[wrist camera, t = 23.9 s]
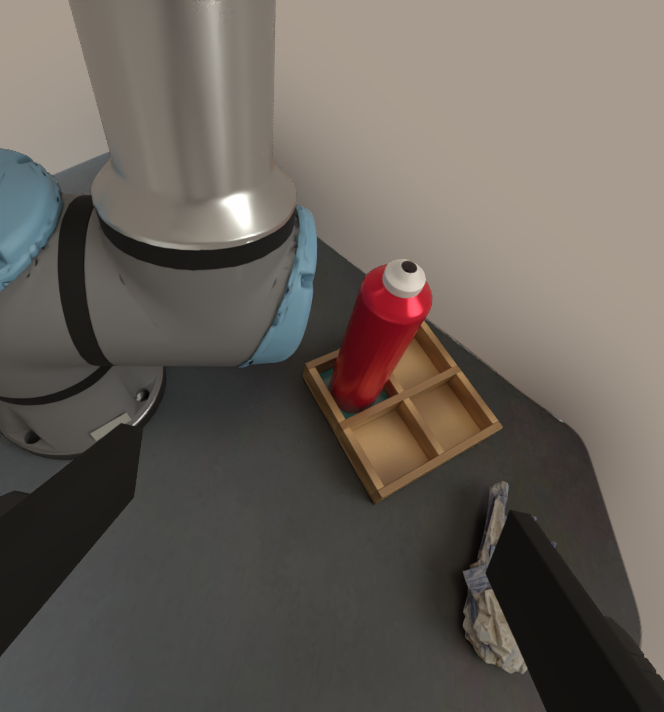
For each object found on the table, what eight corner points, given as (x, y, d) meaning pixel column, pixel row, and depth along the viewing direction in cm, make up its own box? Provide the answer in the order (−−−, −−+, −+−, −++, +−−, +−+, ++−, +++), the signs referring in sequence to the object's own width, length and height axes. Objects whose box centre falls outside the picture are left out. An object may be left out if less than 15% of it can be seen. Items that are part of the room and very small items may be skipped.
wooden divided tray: (302, 376, 46) (304, 363, 44) (412, 329, 52) (420, 315, 49) (374, 504, 41) (382, 498, 38) (489, 436, 46) (503, 427, 43)
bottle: (331, 415, 44) (378, 300, 26) (324, 369, 46) (363, 237, 29) (381, 411, 45) (457, 298, 28) (372, 366, 47) (436, 237, 30)
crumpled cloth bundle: (518, 685, 35) (548, 696, 31) (431, 624, 36) (450, 627, 33) (562, 528, 42) (590, 522, 39) (488, 481, 43) (508, 471, 40)
